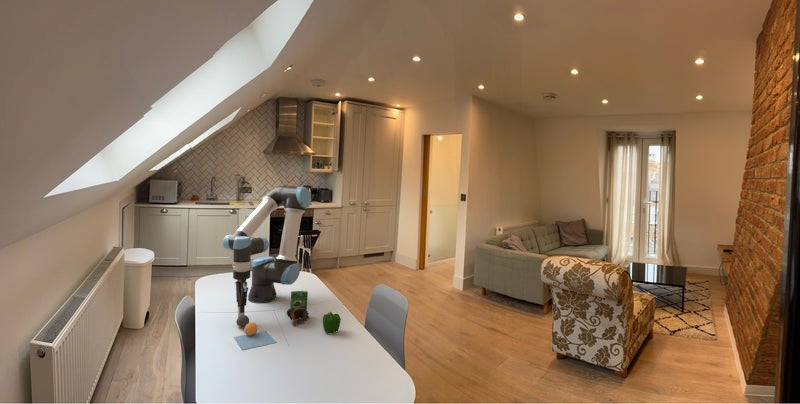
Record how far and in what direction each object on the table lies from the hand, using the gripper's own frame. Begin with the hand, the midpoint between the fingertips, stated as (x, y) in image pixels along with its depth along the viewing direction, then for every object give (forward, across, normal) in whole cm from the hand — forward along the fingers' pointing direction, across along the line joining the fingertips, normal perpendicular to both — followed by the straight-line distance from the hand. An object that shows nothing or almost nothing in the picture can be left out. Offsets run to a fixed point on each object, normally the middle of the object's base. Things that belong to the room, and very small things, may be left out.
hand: (241, 318), depth 189 cm
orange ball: (-1, +16, 0) cm, 16 cm away
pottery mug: (+2, +12, +23) cm, 26 cm away
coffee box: (+2, +6, +26) cm, 27 cm away
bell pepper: (+2, +30, +32) cm, 44 cm away
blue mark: (+2, +22, 0) cm, 22 cm away
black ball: (-1, +6, -1) cm, 6 cm away
